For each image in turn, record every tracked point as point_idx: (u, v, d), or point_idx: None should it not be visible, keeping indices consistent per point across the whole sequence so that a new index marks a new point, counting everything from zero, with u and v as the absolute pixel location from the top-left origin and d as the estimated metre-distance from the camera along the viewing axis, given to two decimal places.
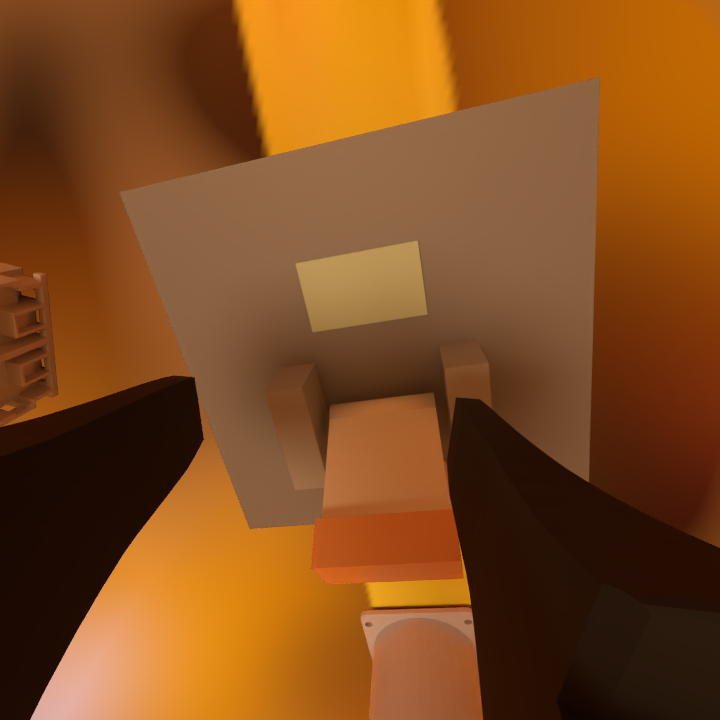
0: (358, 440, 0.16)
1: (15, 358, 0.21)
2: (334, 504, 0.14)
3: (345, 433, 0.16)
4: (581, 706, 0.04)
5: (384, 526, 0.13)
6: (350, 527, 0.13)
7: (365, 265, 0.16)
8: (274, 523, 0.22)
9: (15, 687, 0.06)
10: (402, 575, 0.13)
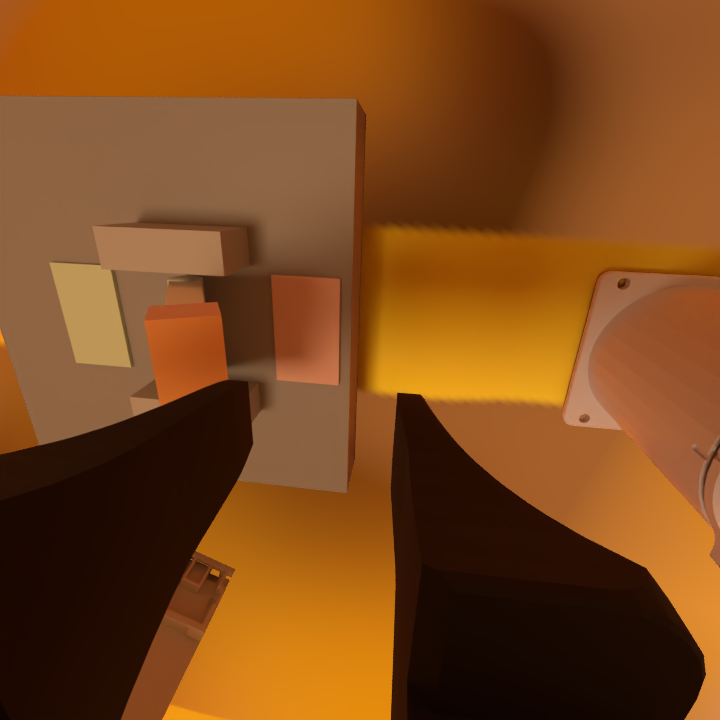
0: None
1: (183, 578, 0.27)
2: None
3: None
4: (423, 684, 0.04)
5: None
6: None
7: (72, 309, 0.19)
8: (342, 467, 0.20)
9: (104, 700, 0.06)
10: (205, 379, 0.12)
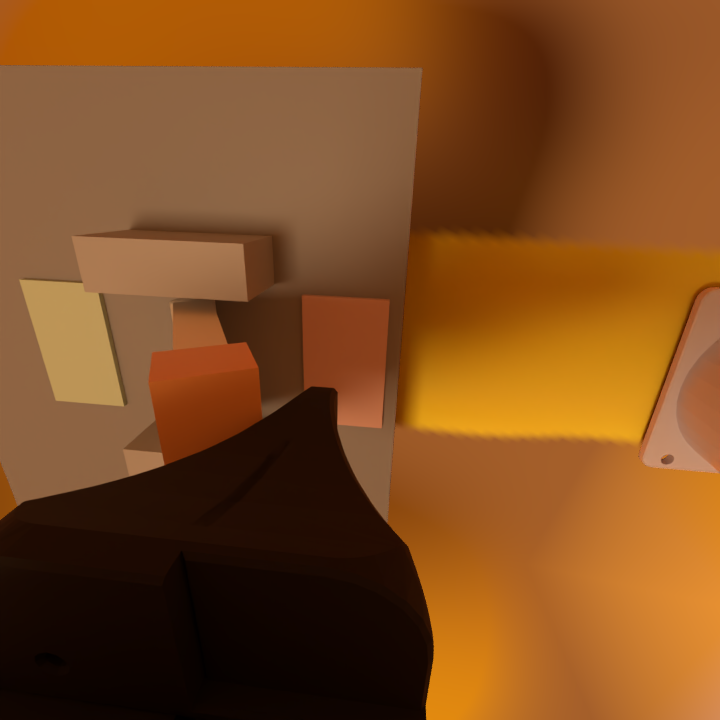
0: None
1: None
2: None
3: None
4: (201, 653, 0.04)
5: None
6: None
7: (50, 337, 0.15)
8: None
9: None
10: None
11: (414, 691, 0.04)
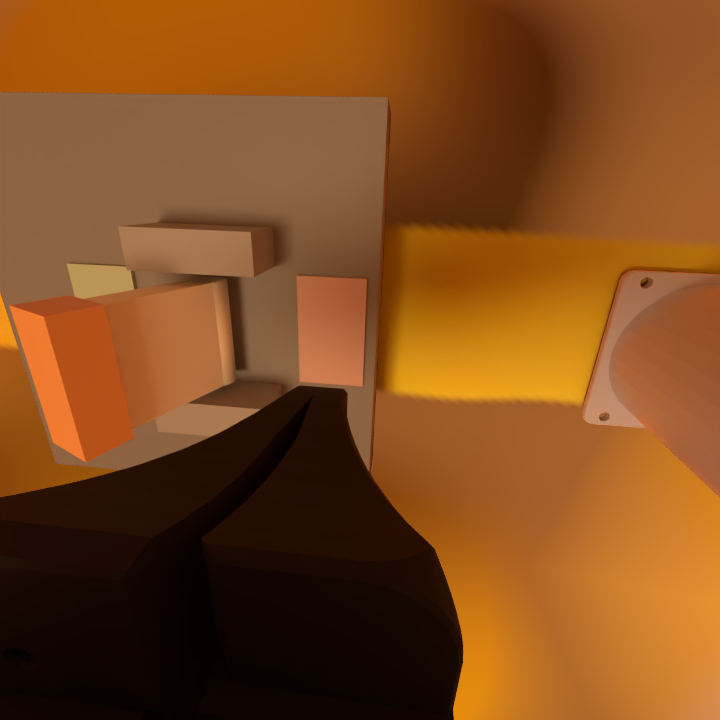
0: None
1: None
2: None
3: None
4: (226, 656, 0.04)
5: None
6: None
7: None
8: None
9: None
10: (51, 377, 0.12)
11: (442, 695, 0.04)
